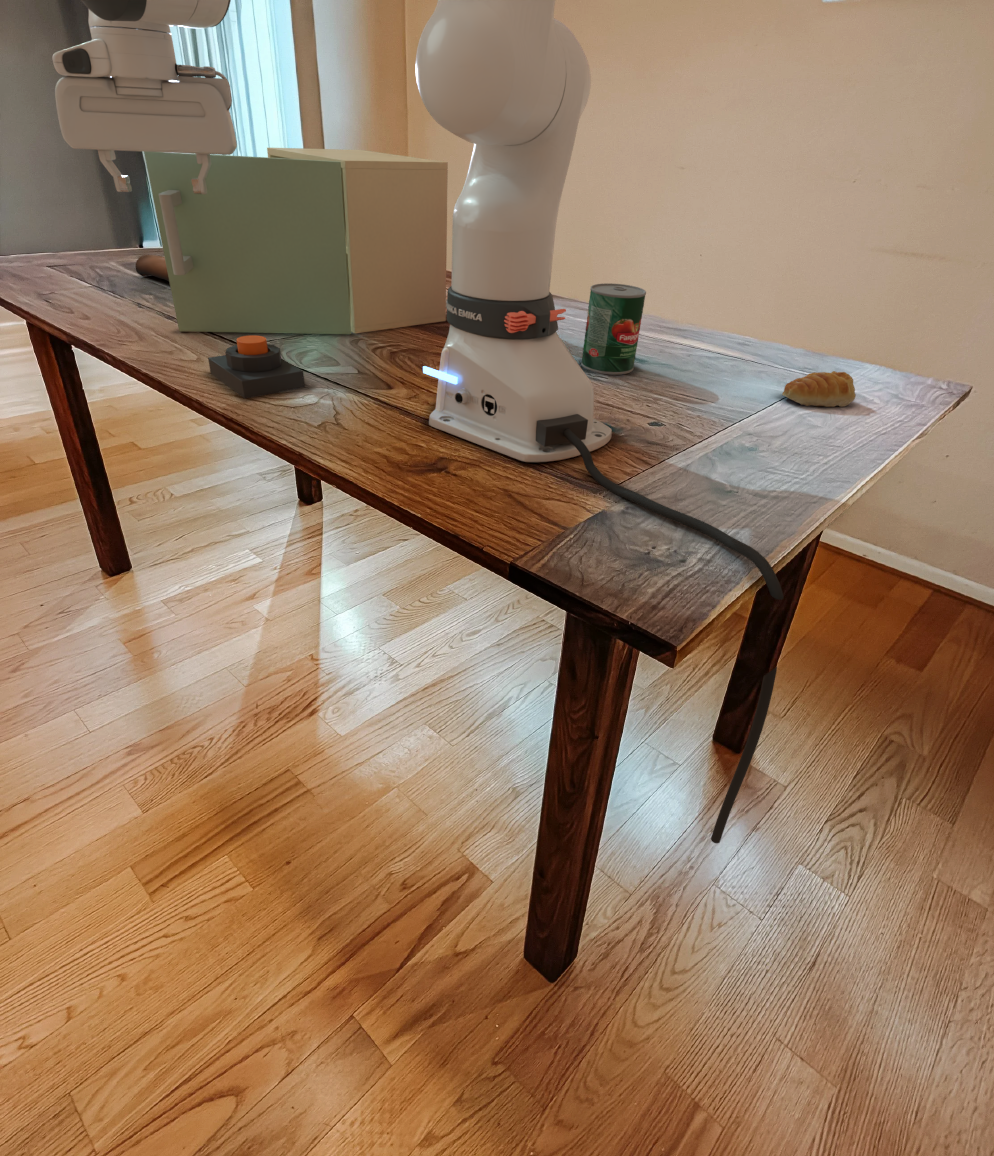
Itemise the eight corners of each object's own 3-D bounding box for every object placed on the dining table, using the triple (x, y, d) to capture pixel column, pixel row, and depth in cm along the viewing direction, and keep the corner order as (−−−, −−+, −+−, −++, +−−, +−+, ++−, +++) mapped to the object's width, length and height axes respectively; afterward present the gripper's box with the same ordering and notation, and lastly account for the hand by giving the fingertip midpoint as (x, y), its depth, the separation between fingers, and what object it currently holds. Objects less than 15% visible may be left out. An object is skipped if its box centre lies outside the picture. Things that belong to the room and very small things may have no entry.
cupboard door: (349, 344, 106) (338, 164, 93) (169, 341, 102) (131, 153, 89) (351, 332, 111) (340, 161, 98) (180, 329, 107) (145, 151, 94)
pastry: (800, 410, 92) (809, 382, 90) (769, 394, 97) (776, 367, 95) (856, 406, 95) (866, 379, 93) (823, 390, 100) (831, 364, 98)
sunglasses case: (226, 284, 133) (205, 253, 128) (201, 308, 131) (178, 278, 126) (175, 269, 142) (153, 240, 137) (151, 292, 140) (128, 263, 135)
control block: (305, 388, 89) (301, 356, 87) (244, 399, 85) (239, 366, 82) (268, 365, 96) (264, 335, 94) (210, 374, 91) (205, 343, 89)
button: (272, 354, 88) (271, 340, 87) (245, 358, 86) (243, 344, 85) (261, 347, 90) (259, 334, 89) (233, 351, 88) (231, 337, 87)
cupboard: (355, 334, 111) (345, 160, 98) (283, 300, 127) (266, 147, 114) (445, 321, 121) (447, 162, 108) (368, 291, 137) (362, 150, 124)
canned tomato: (629, 377, 100) (642, 297, 94) (576, 370, 102) (585, 291, 96) (636, 363, 106) (649, 287, 100) (586, 356, 108) (595, 281, 102)
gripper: (231, 69, 88) (248, 193, 95) (56, 58, 84) (88, 188, 92) (223, 66, 83) (242, 197, 90) (36, 55, 79) (72, 192, 87)
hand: (162, 192), depth 91 cm, fingers open, 8 cm apart
